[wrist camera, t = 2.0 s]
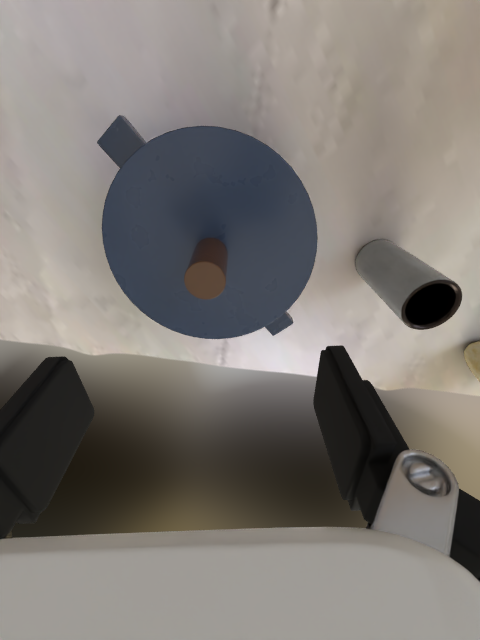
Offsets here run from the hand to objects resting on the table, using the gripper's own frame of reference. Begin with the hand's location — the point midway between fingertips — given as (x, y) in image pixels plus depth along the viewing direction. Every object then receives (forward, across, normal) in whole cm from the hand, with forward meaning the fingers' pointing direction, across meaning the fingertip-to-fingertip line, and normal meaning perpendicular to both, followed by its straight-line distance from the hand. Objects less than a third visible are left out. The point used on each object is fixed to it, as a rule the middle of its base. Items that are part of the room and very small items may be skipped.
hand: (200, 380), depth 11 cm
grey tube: (+21, -17, +4) cm, 27 cm away
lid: (+14, 0, 0) cm, 14 cm away
